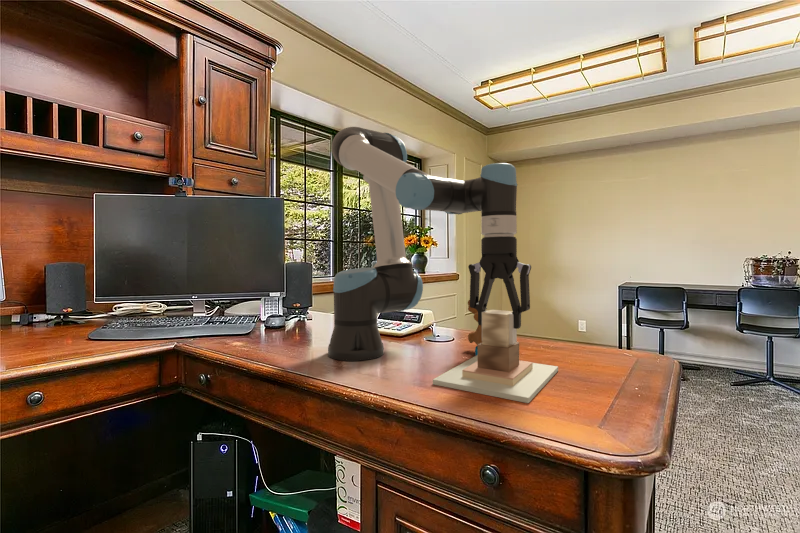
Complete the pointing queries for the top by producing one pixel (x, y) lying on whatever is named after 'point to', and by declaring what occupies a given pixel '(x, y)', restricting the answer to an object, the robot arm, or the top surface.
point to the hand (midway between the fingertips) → (499, 341)
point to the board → (499, 379)
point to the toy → (477, 334)
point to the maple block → (495, 328)
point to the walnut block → (498, 357)
